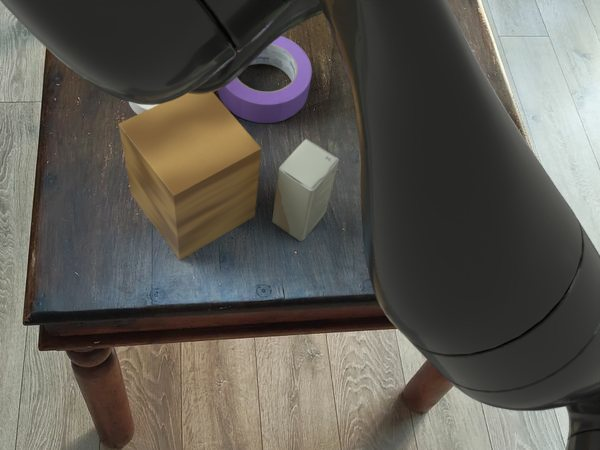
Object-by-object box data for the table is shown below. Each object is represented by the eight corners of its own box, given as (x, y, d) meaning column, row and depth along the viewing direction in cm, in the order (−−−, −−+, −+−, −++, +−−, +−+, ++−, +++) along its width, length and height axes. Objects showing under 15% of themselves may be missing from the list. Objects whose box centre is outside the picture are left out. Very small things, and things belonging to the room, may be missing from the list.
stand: (254, 216, 80) (261, 148, 69) (179, 260, 76) (173, 196, 65) (205, 156, 83) (204, 82, 72) (131, 195, 80) (118, 123, 68)
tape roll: (327, 94, 90) (331, 73, 87) (258, 139, 85) (259, 119, 82) (267, 40, 94) (269, 18, 91) (197, 80, 89) (197, 59, 86)
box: (296, 193, 82) (307, 135, 73) (326, 213, 81) (341, 157, 72) (269, 223, 80) (277, 167, 70) (300, 244, 79) (312, 190, 69)
